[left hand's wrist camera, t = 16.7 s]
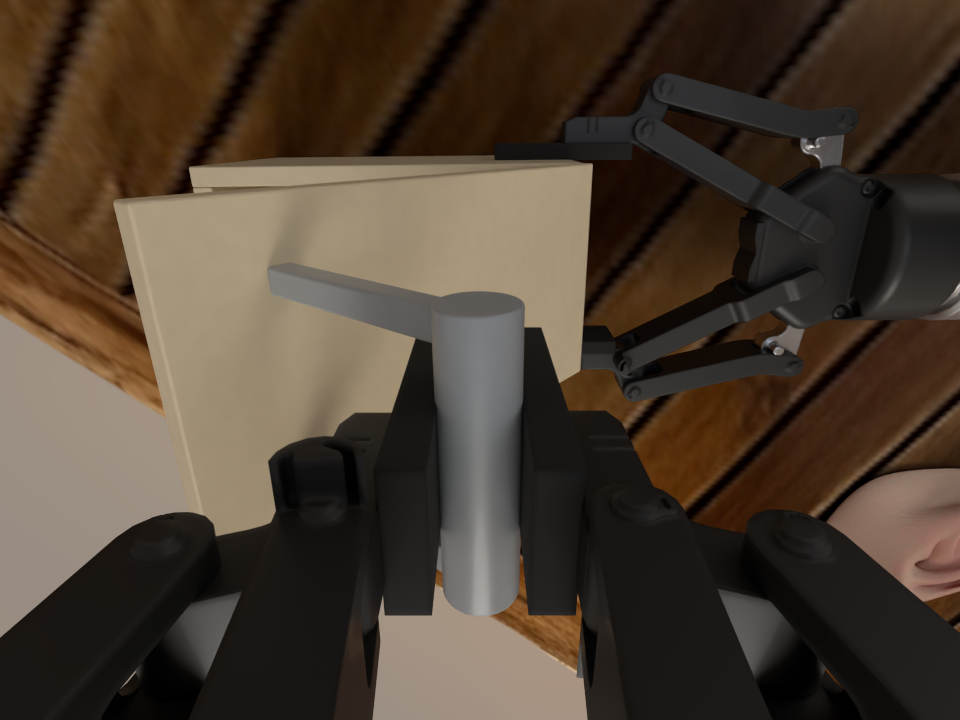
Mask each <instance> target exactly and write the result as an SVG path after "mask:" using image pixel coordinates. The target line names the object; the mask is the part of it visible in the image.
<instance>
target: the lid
mask: <svg viewBox="0 0 960 720" xmlns="http://www.w3.org/2000/svg"><path fill="white" fill-rule="evenodd" d="M592 170H593V164H591V163H572V164H560V165H547V166H534V167H521V168H509V169H496V170H483V171H471V172H458V173H445V174H432V175H420V176H407V177H394V178H382V179H369V180H356V181H343V182H331V183H318V184H305V185H293V186H280V187H267V188H254V189H242V190H229V191H216V192H203V193H191V194H178V195H165V196H153V197H140V198H127V199H117V200H115V201H114V208H115V212H116V216H117V220H118V224H119V228H120V232H121V236H122V240H123V244H124V248H125V253H126V257H127V261H128V265H129V269H130V273H131V277H132V281H133V285H134V289H135V293H136V297H137V302H138V306H139V310H140V314H141V318H142V322H143V326H144V330H145V334H146V338H147V342H148V346H149V350H150V355H151V359H152V363H153V367H154V371H155V375H156V379H157V383H158V387H159V391H160V395H161V399H162V404H163V408H164V412H165V416H166V420H167V424H168V428H169V432H170V436H171V440H172V444H173V448H174V452H175V456H176V461H177V465H178V469H179V473H180V477H181V481H182V485H183V489H184V493H185V497H186V501H187V506H188V509H189V512H193V513H197V514H200V515H204V516H206V517H207V518H208V519H209V520H210V521H211V522H212V523H213V524H214V528H215V533H216V536H219V535H224V534H229V533H234V532H239V531H244V530H248V529H252V528H256V527H260V526H263V525H266V524H268V523H271V521H272V519H273V516H274V514H275V511H276V509H275V503H274V496H273V490H272V484H271V478H270V471H269V465H268V461H269V459H270V458H271V457H272V456H273V455H274V454H275V453H276V452H277V451H278V450H280V449H282V448H283V447H285V446H287V445H289V444H291V443H294V442H297V441H300V440H303V439H306V438H313V437H321V436H334V434H335V432H336V430H337V428H338V426H339V424H340V423H342V422H343V421H345V420H346V419H347V418H349V417H350V416H351V415H353V414H354V413H392V410H393V407H394V404H395V401H396V397H397V394H398V391H399V388H400V385H401V382H402V379H403V376H404V373H405V370H406V367H407V363H408V360H409V357H410V354H411V351H412V348H413V345H414V342H415V339H420V340H423V341H426V342H430V343H432V353H433V376H434V398H435V403H436V406H437V435H438V463H439V491H440V519H441V530H440V539H439V549H438V559H437V569H438V570H440V571H441V572H442V578H443V592H444V595H445V597H446V599H447V601H448V602H449V603H450V604H451V605H452V606H453V607H454V608H455V609H457V610H458V611H460V612H463V613H465V614H468V615H473V616H489V615H493V614H496V613H499V612H501V611H503V610H505V609H506V608H508V607H509V606H510V605H511V604H512V603H513V602H514V600H515V599H516V597H517V595H518V592H519V570H520V500H521V464H522V421H523V374H524V327H541V328H542V331H543V334H544V337H545V340H546V343H547V346H548V349H549V352H550V356H551V359H552V362H553V365H554V368H555V371H556V374H557V377H558V380H559V383H560V382H562V381H563V380H565V379H567V378H569V377H570V376H572V375H574V374H575V373H577V372H579V371H580V366H581V350H582V333H583V317H584V301H585V284H586V268H587V252H588V235H589V219H590V203H591V186H592Z"/></svg>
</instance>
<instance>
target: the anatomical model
mask: <svg viewBox="0 0 960 720" xmlns="http://www.w3.org/2000/svg"><path fill="white" fill-rule="evenodd" d="M826 523H828V524H830V525H831V526H833V527H834V528H836V529H837V530H839V531H840V532H842V533H843V534H845V535H846V536H847V537H848V538H849V539H851V540H852V541H853V542H854V543H855V544H856V545H858V546H859V547H860V548H861V549H862V550H863V551H865V552H866V553H867V554H868V555H869V556H870V557H872V558H873V559H874V560H875V561H876V562H877V563H879V564H880V565H881V566H882V567H883V568H884V569H886V570H887V571H888V572H889V573H890V574H891V575H893V576H894V577H895V578H896V579H897V580H898V581H900V582H901V583H902V584H903V585H904V586H905V587H907V588H908V589H909V590H910V591H911V592H912V593H914V594H915V595H916V596H917V597H918V598H919V599H921V600H922V601H923V602H924V601H928V600H931V599H935V598H938V597H941V596H945V595H948V594H951V593H955V592H958V591H960V469H922V470H911V471H904V472H897V473H892V474H888V475H884V476H881V477H878V478H876V479H874V480H871V481H869V482H867V483H866V484H864V485H862V486H861V487H859V488H858V489H857V490H856V491H854V492H853V493H852V494H851V495H850V496H849V497H847V498H846V499H845V500H844V501H843V502H842V503H841V505H840V506H839V507H838V508H837V509H836V510H835V511H834V513H833V514H832V515H831V516H830V518H829V519H828V520H827V522H826Z"/></svg>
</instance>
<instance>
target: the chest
mask: <svg viewBox="0 0 960 720" xmlns="http://www.w3.org/2000/svg"><path fill="white" fill-rule="evenodd" d="M572 163H581V162H577V161H573V160H495V159H494V155H485V156H390V157H295V158H269V159H259V160H250V161H240V162H231V163H221V164H212V165H202V166H193V167H189V171H190V176H191V181H192V186H193V187H194V188H193V190H194V193H203V192H216V191H229V190H242V189H254V188H267V187H280V186H293V185H305V184H318V183H331V182H343V181H356V180H369V179H382V178H394V177H407V176H420V175H432V174H445V173H458V172H471V171H483V170H496V169H509V168H521V167H534V166H547V165H560V164H572Z"/></svg>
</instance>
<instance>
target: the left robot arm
mask: <svg viewBox="0 0 960 720" xmlns="http://www.w3.org/2000/svg"><path fill="white" fill-rule="evenodd" d="M628 437H629V436H628V434H627V432H626V430H625V428H624V426H623V424H622V423H621V422H620V421H619V420H617V419H616V418H615V417H613V416H612V415H611V414H609V413H608V412H607V411H568V408H567V405H566V402H565V399H564V396H563V393H562V390H561V386H560V383H559V380H558V377H557V374H556V371H555V368H554V365H553V362H552V359H551V356H550V352H549V349H548V346H547V343H546V340H545V337H544V334H543V331H542V328H541V327H524V374H523V421H522V464H521V500H520V534H521V544H522V554H523V564H524V574H525V584H526V594H527V604H528V614H529V615H576V605H577V593H578V596H579V601H580V605H581V610H582V620H581V632H580V643H579V655H578V666H577V677H578V678H584V688H585V698H586V707H587V717H588V720H960V633H959V632H958V631H957V630H956V629H954V628H953V627H952V626H951V625H950V624H949V623H947V622H946V621H945V620H944V619H943V618H942V617H940V616H939V615H938V614H937V613H936V612H935V611H933V610H932V609H931V608H930V607H929V606H928V605H926V604H925V603H924V602H923V601H922V600H921V599H919V598H918V597H917V596H916V595H915V594H914V593H912V592H911V591H910V590H909V589H908V588H907V587H905V586H904V585H903V584H902V583H901V582H900V581H898V580H897V579H896V578H895V577H894V576H893V575H891V574H890V573H889V572H888V571H887V570H886V569H884V568H883V567H882V566H881V565H880V564H879V563H877V562H876V561H875V560H874V559H873V558H872V557H870V556H869V555H868V554H867V553H866V552H865V551H863V550H862V549H861V548H860V547H859V546H858V545H856V544H855V543H854V542H853V541H852V540H851V539H849V538H848V537H847V536H846V535H845V534H843V533H842V532H840V531H839V530H837V529H836V528H834V527H833V526H831V525H830V524H828V523H826V522H824V521H821V520H819V519H817V518H814V517H812V516H810V515H807V514H804V513H800V512H799V513H798V512H796V511H789V510H766V511H763V512H759V513H755V514H754V515H753V516H752V517H751V518H750V519H749V520H748V521H747V526H746V531H745V534H744V533H739V532H734V531H729V530H724V529H719V528H714V527H710V526H706V525H703V524H699V523H696V522H694V521H691V520H689V519H688V518H687V515H686V513H685V511H684V509H683V508H682V506H681V505H680V504H679V502H678V501H677V500H676V499H675V498H674V497H672V496H671V495H669V494H668V493H666V492H665V491H663V490H660V489H658V488H655V487H653V485H652V483H651V481H650V479H649V477H648V475H647V473H646V471H645V469H644V467H643V465H642V463H641V461H640V459H639V457H638V455H637V453H636V451H634V447H633V444H632V442H631V440H630V439H629V438H628ZM268 465H269V471H270V478H271V484H272V490H273V496H274V503H275V509H276V511H275V514H274V516H273V519H272V521H271V523H268V524H266V525H263V526H260V527H256V528H252V529H248V530H244V531H239V532H234V533H229V534H224V535H219V536H216V533H215V528H214V524H213V523H212V522H211V521H210V520H209V519H208V518H207V517H206V516H204V515H200V514H197V513H193V512H178V513H169V514H165V515H159V516H156V517H152V518H150V519H148V520H146V521H143V522H141V523H139V524H137V525H134V526H132V527H131V528H129V529H128V530H126V531H125V532H124V533H122V534H121V535H119V536H118V537H116V538H115V539H114V540H113V541H112V542H110V543H109V544H108V545H107V546H106V547H105V548H103V549H102V550H101V551H100V552H99V553H98V554H97V555H95V556H94V557H93V558H92V559H91V560H90V561H88V562H87V563H86V564H85V565H84V566H83V567H82V568H80V569H79V570H78V571H77V572H76V573H75V574H73V575H72V576H71V577H70V578H69V579H68V580H66V581H65V582H64V583H63V584H62V585H61V586H60V587H58V588H57V589H56V590H55V591H54V592H53V593H51V594H50V595H49V596H48V597H47V598H46V599H45V600H43V601H42V602H41V603H40V604H39V605H38V606H36V607H35V608H34V609H33V610H32V611H31V612H29V613H28V614H27V615H26V616H25V617H24V618H22V619H21V620H20V621H19V622H18V623H17V624H16V625H14V626H13V627H12V628H11V629H10V630H9V631H7V632H6V633H5V634H4V635H3V636H2V637H1V638H0V720H372V718H373V708H374V698H375V689H376V679H377V669H378V659H379V649H380V632H379V621H378V615H379V611H380V606H381V601H382V597H383V599H384V611H385V615H432V609H433V599H434V589H435V579H436V569H437V559H438V549H439V539H440V530H441V519H440V491H439V463H438V435H437V406H436V403H435V398H434V376H433V353H432V343H430V342H426V341H423V340H420V339H415V342H414V345H413V348H412V351H411V354H410V357H409V360H408V363H407V367H406V370H405V373H404V376H403V379H402V382H401V385H400V388H399V391H398V394H397V397H396V401H395V404H394V407H393V410H392V413H354V414H353V415H351V416H350V417H349V418H347V419H346V420H345V421H343V422H342V423H340V424H339V426H338V428H337V430H336V432H335V434H334V436H321V437H313V438H306V439H303V440H300V441H297V442H294V443H291V444H289V445H287V446H285V447H283V448H282V449H280V450H278V451H277V452H276V453H275V454H274V455H273V456H272V457H271V458H270V459H269V461H268ZM826 668H827V669H828V670H829V672H830V673H831V674H832V675H833V676H834V678H835V679H836V680H837V681H838V682H839V684H840V685H841V686H842V687H843V688H844V689H843V688H841V687H840V686H839V685H838V684H837V683H836V682H835V681H834V680H833V679H832V678H831V677H830V675H829V674H828V673H827V672H826V671H825V669H826ZM135 670H136V673H135V674H134V675H133V677H132V678H131V679H130V680H129V681H128V683H127V684H125V685H124V683H125V682H126V681H127V680H128V679H129V677H130V676H131V675H132V674H133V673H134V671H135ZM123 685H124V686H123ZM122 686H123V687H122ZM121 687H122V688H121ZM120 688H121V689H120ZM119 689H120V690H119Z"/></svg>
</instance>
